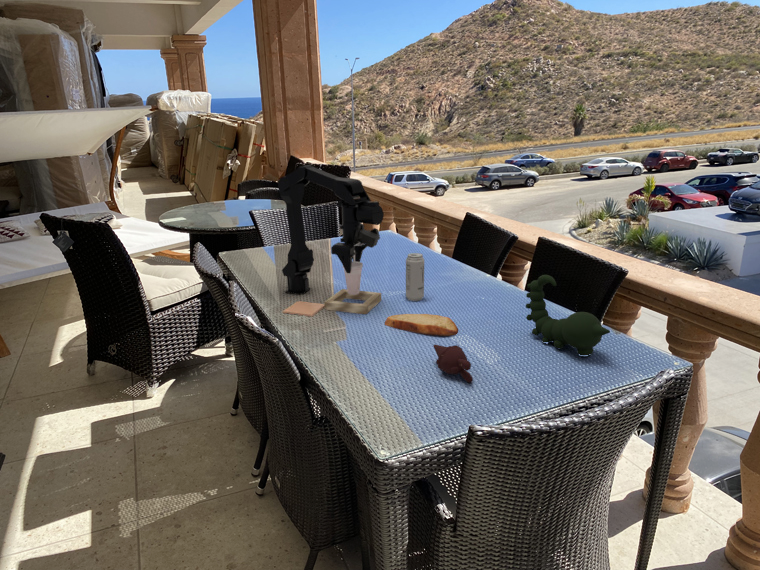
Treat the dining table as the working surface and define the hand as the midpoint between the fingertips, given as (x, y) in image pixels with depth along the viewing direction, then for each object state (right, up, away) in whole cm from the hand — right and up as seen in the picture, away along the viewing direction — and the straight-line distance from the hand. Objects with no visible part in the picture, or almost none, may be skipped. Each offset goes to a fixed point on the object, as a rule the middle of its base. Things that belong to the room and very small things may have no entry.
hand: (352, 270), depth 167 cm
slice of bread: (+20, -17, -15) cm, 31 cm away
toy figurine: (+56, -21, -29) cm, 67 cm away
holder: (0, -11, +3) cm, 12 cm away
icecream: (+25, -25, -42) cm, 55 cm away
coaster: (-15, -12, 0) cm, 20 cm away
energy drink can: (+20, -9, +9) cm, 24 cm away
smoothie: (0, -7, +2) cm, 8 cm away
